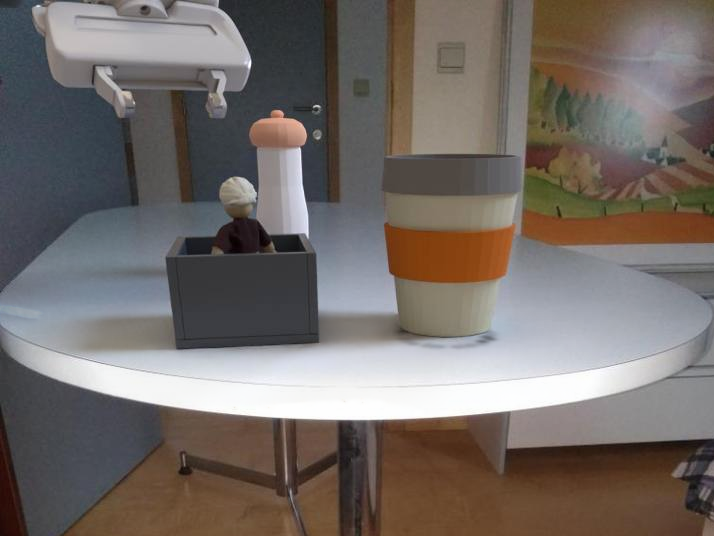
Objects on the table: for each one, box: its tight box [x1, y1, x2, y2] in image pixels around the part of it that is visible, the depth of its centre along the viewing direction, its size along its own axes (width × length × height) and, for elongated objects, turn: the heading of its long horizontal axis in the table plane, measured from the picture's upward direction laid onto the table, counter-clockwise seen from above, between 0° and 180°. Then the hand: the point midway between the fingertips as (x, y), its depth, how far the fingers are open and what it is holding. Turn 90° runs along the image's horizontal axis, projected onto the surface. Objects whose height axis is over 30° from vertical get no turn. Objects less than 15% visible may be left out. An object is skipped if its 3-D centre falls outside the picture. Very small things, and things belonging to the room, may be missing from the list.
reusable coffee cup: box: [380, 153, 523, 338], centre depth 67 cm, size 13×13×15 cm
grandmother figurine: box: [211, 176, 277, 254], centre depth 66 cm, size 8×4×13 cm, turn 150°
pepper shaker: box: [248, 109, 309, 239], centre depth 92 cm, size 7×7×19 cm
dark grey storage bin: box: [164, 233, 320, 350], centre depth 68 cm, size 13×13×8 cm
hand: (175, 113), depth 72 cm, fingers open, 8 cm apart
